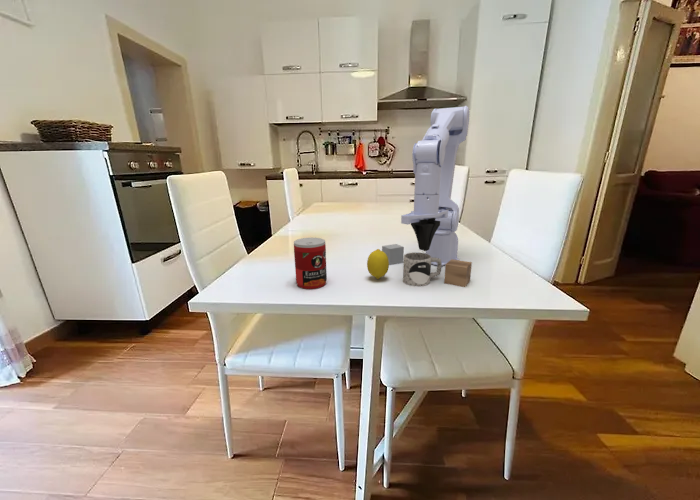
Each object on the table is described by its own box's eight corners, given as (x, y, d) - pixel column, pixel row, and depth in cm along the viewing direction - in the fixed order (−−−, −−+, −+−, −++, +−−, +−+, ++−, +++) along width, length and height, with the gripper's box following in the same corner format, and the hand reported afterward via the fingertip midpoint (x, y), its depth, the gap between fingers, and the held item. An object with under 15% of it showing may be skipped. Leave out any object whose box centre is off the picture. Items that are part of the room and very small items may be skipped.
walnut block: (450, 277, 82) (451, 259, 80) (470, 281, 79) (471, 262, 78) (444, 283, 78) (445, 264, 76) (465, 287, 75) (466, 267, 74)
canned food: (304, 292, 74) (301, 246, 71) (291, 281, 80) (288, 240, 77) (332, 285, 78) (331, 242, 75) (318, 276, 84) (316, 235, 81)
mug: (409, 287, 75) (410, 261, 74) (399, 278, 82) (399, 253, 80) (447, 283, 77) (449, 257, 76) (434, 274, 84) (435, 250, 82)
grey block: (395, 259, 98) (396, 243, 96) (403, 262, 94) (403, 246, 93) (381, 261, 96) (382, 245, 94) (389, 265, 92) (389, 249, 91)
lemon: (392, 277, 82) (392, 248, 80) (382, 284, 77) (382, 253, 75) (373, 273, 85) (374, 245, 83) (363, 280, 80) (362, 250, 78)
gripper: (433, 191, 81) (430, 242, 85) (392, 194, 73) (391, 251, 76) (456, 192, 76) (452, 247, 79) (415, 196, 67) (413, 257, 71)
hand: (423, 249), depth 77 cm, fingers closed
